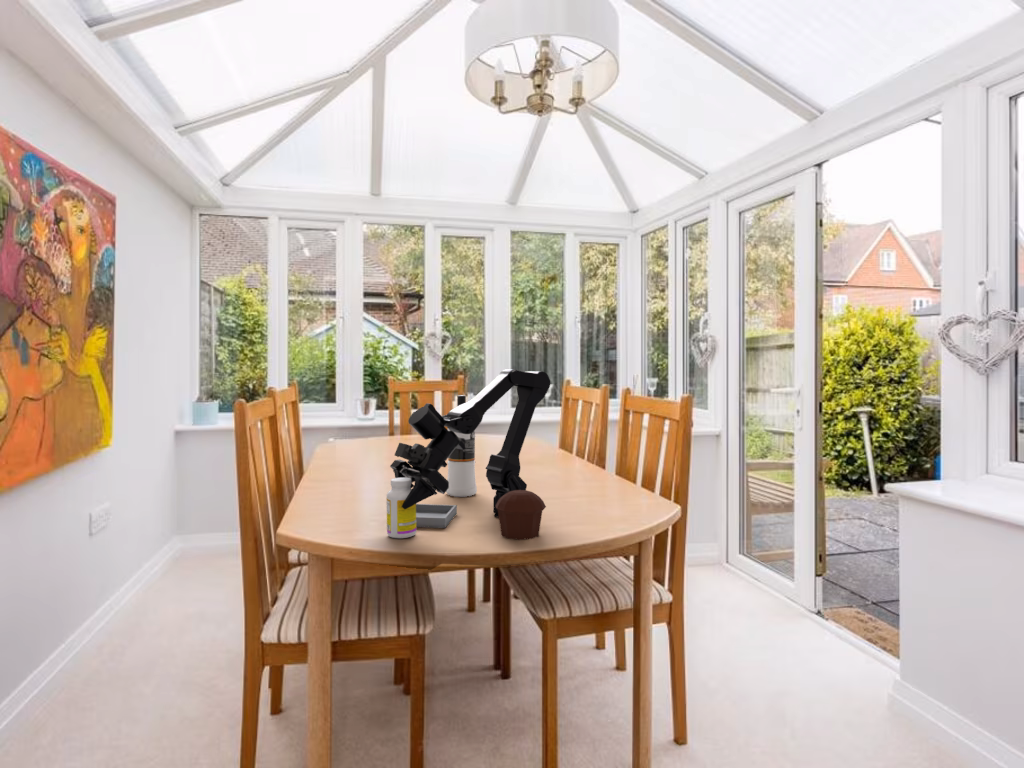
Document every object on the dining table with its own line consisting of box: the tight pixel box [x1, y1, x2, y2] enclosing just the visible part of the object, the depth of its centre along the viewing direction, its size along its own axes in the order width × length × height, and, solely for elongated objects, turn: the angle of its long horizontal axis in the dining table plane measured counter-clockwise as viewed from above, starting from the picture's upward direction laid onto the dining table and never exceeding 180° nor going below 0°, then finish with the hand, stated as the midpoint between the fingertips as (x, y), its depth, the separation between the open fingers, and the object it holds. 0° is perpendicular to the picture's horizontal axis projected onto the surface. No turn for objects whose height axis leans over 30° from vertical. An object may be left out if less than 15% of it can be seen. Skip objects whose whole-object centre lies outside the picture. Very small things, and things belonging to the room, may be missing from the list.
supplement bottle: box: [386, 477, 417, 539], centre depth 136 cm, size 7×7×13 cm
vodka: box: [445, 394, 478, 498], centre depth 179 cm, size 9×9×30 cm
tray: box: [416, 503, 458, 529], centre depth 150 cm, size 13×13×2 cm
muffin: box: [495, 489, 547, 541], centre depth 138 cm, size 12×11×10 cm
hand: (395, 505), depth 136 cm, fingers closed on supplement bottle, 7 cm apart
